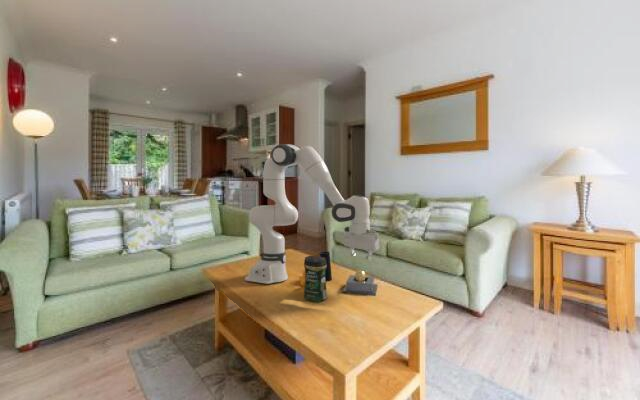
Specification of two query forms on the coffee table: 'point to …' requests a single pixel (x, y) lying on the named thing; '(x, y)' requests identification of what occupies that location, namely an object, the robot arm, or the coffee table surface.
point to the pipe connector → (328, 268)
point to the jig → (360, 286)
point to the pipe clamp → (302, 278)
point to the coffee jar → (315, 278)
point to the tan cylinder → (360, 275)
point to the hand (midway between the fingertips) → (360, 257)
